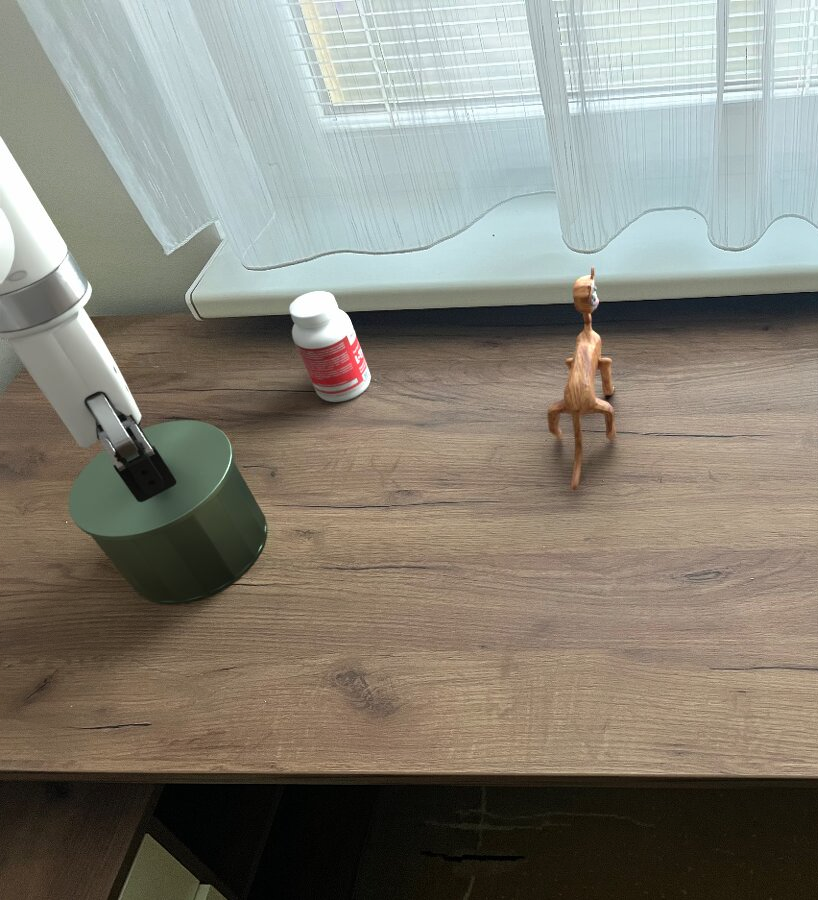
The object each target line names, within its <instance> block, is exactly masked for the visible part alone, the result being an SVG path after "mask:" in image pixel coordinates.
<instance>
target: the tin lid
mask: <svg viewBox="0 0 818 900" xmlns="http://www.w3.org/2000/svg"><path fill="white" fill-rule="evenodd" d="M136 425H137V426H138V428H139V429H140V431H141V432H142V434H143V436H144V437H145V439H146V440H147V442H148V444H149V445H150V447H152V446H155V448H156V450H157V451H158V453H159V454H160V456H161V457H162V459H163V460H164V462H165V464H166V465H167V467H168V468H169V470H170V471H171V473H172V475H173V476H174V478H175V479H176V481H177V482H176V484H175V485H174V486H173V487H171V488H169V489H167V490H165V491H163V492H161V493H159V494H157V495H155V496H154V497H152V498H150V499H148V500H146V501H144V502H138V501H137V500H136V498H135V497H134V496H133V494H132V493H131V491H130V490H129V488H128V487H127V486H126V484H125V483H124V481H123V480H122V478H121V477H120V476H119V474H118V473H117V471H116V470H115V468H114V466H113V465H115V463H114V462H113V460H112V459H111V457H110V456H109V454H108V452H107V451H106V449H105V448H104V449H103V450H102V451H101V452H99V453H98V454H97V455H96V456H95V457H94V458H93V459H91V460H90V461H89V462H88V463H87V465H85V466H84V468H83V469H82V470H81V471H80V473H79V474H78V475H77V477H76V478H75V480H74V483H73V484H72V486H71V489H70V492H69V495H68V501H67V502H68V503H67V506H68V512H69V515H70V517H71V519H72V521H73V523H74V524H75V525H76V526H77V527H78V528H79V529H80V530H81V531H82V532H84V533H85V534H86V535H88V536H91V537H92V536H93V537H96V538H100V539H104V540H131V539H137V538H142V537H146V536H150V535H153V534H156V533H159V532H162V531H164V530H167V529H169V528H171V527H173V526H175V525H177V524H179V523H181V522H183V521H184V520H186V519H188V518H189V517H191V516H192V515H194V514H195V513H197V512H198V511H199V510H201V509H202V508H203V507H204V506H205V505H207V504H208V503H209V502H210V501H211V500H212V499H213V498H214V497H215V496H216V495H217V493H218V492H219V491H220V490H221V489H222V487H223V486H224V484H225V483H226V481H227V479H228V477H229V475H230V473H231V470H232V467H233V461H234V460H235V458H234V457H235V455H234V448H233V445H232V444H231V442H230V440H229V438H228V436H227V435H226V434H225V433H224V432H223V431H222V430H221V429H219V428H218V427H216V426H214V425H213V424H211V423H207V422H205V421H204V422H203V421H199V420H186V419H185V420H173V421H166V422H161V423H156V424H153V425H149V426H146V427H144V428H141V425H138V424H137V423H136ZM126 431H127V433H128V434H129V436H130V437H131V439H132V440H133V441H135V440H137V438H136V437H135V435H134V434H133V432H132V430H131V429H128V430H126ZM109 441H110V439H109ZM137 441H138V440H137ZM110 442H111V441H110ZM111 444H112V443H111ZM112 445H113V444H112ZM113 447H114V446H113ZM114 448H115V447H114ZM115 450H116V449H115ZM234 462H235V461H234Z"/></svg>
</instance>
